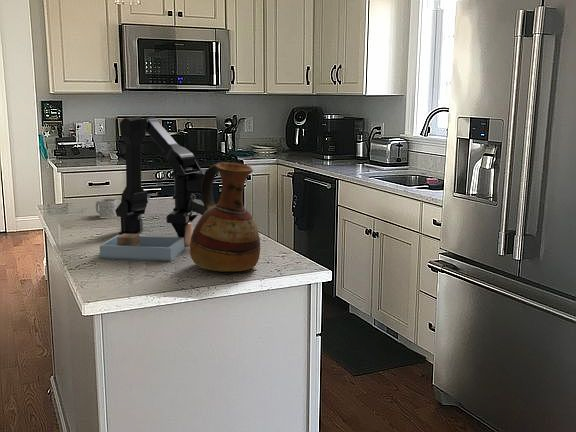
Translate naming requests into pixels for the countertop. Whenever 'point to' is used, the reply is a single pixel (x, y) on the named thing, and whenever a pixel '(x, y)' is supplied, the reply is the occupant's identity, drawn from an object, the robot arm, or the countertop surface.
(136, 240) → the walnut block
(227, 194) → the ceramic pitcher
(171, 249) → the tote
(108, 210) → the mug
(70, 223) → the countertop surface
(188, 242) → the brown egg
